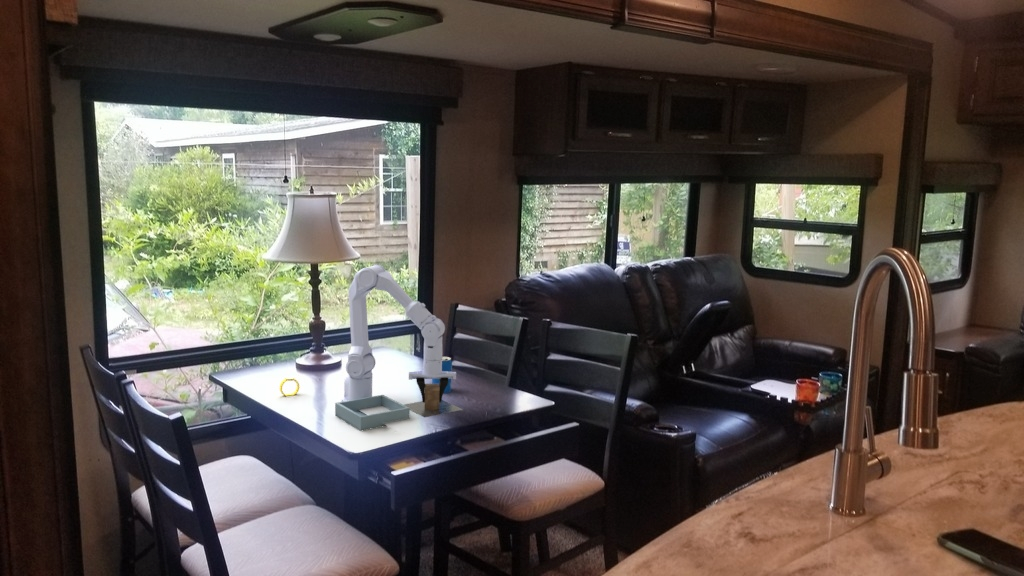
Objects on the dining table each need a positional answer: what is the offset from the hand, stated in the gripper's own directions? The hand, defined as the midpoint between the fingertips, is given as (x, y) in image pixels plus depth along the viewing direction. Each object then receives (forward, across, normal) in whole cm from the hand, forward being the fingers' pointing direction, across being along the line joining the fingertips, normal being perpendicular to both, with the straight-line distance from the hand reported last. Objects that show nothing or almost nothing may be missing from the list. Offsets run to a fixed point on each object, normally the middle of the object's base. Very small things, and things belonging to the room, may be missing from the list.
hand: (431, 401), depth 228 cm
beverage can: (+3, -4, -19) cm, 19 cm away
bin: (+3, +18, +7) cm, 19 cm away
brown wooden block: (+2, 0, 0) cm, 2 cm away
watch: (+3, +45, -18) cm, 49 cm away
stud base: (+3, 0, 0) cm, 3 cm away
